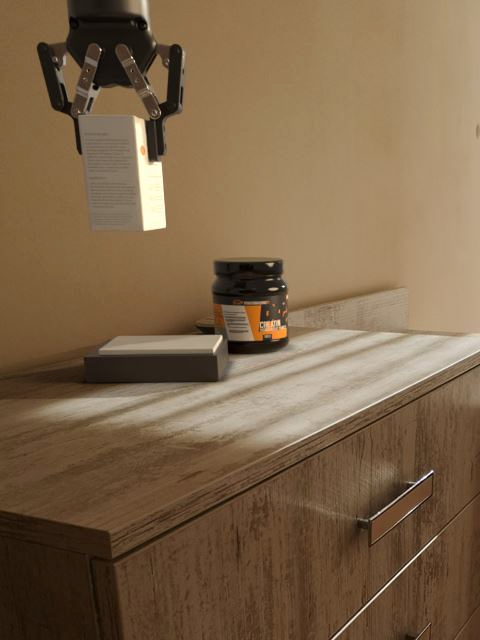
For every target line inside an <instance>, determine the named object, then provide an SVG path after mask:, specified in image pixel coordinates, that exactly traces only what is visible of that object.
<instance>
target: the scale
mask: <svg viewBox="0 0 480 640" xmlns="http://www.w3.org/2000/svg"><path fill="white" fill-rule="evenodd" d="M83 363H84V364H83V365H84V372H85V373H84V374H85V381H86V383H87V384H99V383H100V384H101V383H103V384H104V383H105V384H107V383H109V384H110V383H113V384H115V383H173V382H174V383H175V382H176V383H177V382H179V383H180V382H181V383H182V382H183V383H184V382H185V383H186V382H188V383H189V382H219V381H220V379H221V378H222V375H223V373H224V371H225V369H226V367H227V365H228V363H229V352H228V346H227V338H222V335H215V334H186V335H185V334H184V335H183V334H178V335H177V334H176V335H171V334H169V335H117V336H115V337H114V338H113V339H107V340H106V341H104V342H103V343H101V344H99V346H97V347H96V348H94V349H93V350H91V351H90V352H88V353H87V354H86V355H85V356H83Z"/></svg>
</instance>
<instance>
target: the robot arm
mask: <svg viewBox="0 0 480 640" xmlns="http://www.w3.org/2000/svg"><path fill="white" fill-rule="evenodd" d="M65 1H66V10H67V19H68V33H67V36H66V38H65V41H61V42H55V43H54V42H53V43H47V42H45V41H40V42H38V43H37V45H36V51H37V56H38V60H39V64H40V67H41V71H42V75H43V80H44V83H45V87H46V90H47V94H48V99H49V101H50V106H51V108H52V110H53V111H55V112H59V113H61V114H65V115H67V116H69V117H70V118H71V119H72V122H73V127H74V136H75V144H76V151H77V153H78V155H80V156H82V149H81V140H80V132H79V123H78V116H79V115H92V111H93V108H94V105H95V102H96V100H97V99H98V97H99V94H100V92H101V88H102V89H113V88H116V87H121V88H124V89H133V90H134V91H135V93H136V95H137V96H138V97H139V99H140V101H141V103H142V105H143V107H144V109H145V111H146V113H147V114H148V116H149V120H148V119H146V120H147V125H148V137H149V149H150V159H151V162H161V163H162V157H166V155H167V152H168V144H167V133H166V122H167V120H168V119H169V118H171V117H173V116H176V115H180V114H181V113H182V112H183V110H184V98H185V97H184V96H185V95H184V94H185V82H186V69H187V52H186V50H185V49H184V48H183V47H182V46H181V45H180V44H178V43H173V44H171V45H169V44H163V43H158V42H157V40H156V38H155V37H154V34H153V31H152V20H151V7H150V0H65ZM69 55H70V56H71V58H72V59H73V61H74V62H75V63H76V65H77V66H78V67H79V68H80V70H81V71H80V74H79V78H78V80H77V84H76V87H75V93H74V94H75V95H74V98H73V101H70V97H69V93H68V89H67V85H66V82H65V77H64V74H63V73H64V72H63V69H65V68H66V66H67V57H68V56H69ZM158 56H159V57H160V60H161V64H162V66H163V68H164V69H166V70H167V86H166V100H165V101H163V102H161V103H160V101H159V98H158V97H157V94H156V91H155V89H154V87H153V85H152V83H151V81H150V80H149V77H148V75H147V74H148V72H149V70H150V69H151V67H152V65H153V64H154V62H155V60H156V59H157V57H158Z"/></svg>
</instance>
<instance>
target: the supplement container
mask: <svg viewBox="0 0 480 640" xmlns="http://www.w3.org/2000/svg"><path fill="white" fill-rule="evenodd" d="M212 268H213V269H212V270H213V275H214V276H215V280H214V281H213V282H212V283H211V285H210V293H211V295H212V308H213V324H214V335H222V338H227V346H228V353H233V354H234V353H236V354H261V353H271V352H278V351H281V350H283V349H285V348H286V347H288V345H289V344H290V341H291V335H290V320H289V293H288V292H289V284H288V283H287V282H286V280H285V279H284V277H283V275H284V274H285V261H284V259H283V258H280V257H266V256H237V257H235V256H234V257H221V258H215V259H214V260H213V261H212Z"/></svg>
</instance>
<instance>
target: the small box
mask: <svg viewBox="0 0 480 640" xmlns="http://www.w3.org/2000/svg"><path fill="white" fill-rule="evenodd" d="M147 120H148V119H144V118H141V117H138V116H136V115H134V114H133V115H132V114H90V115H79V116H78V123H79V132H80V140H81V149H82V155H81V157H82V165H83V175H84V183H85V193H86V194H85V195H86V201H87V210H88V219H89V227H90V231H91V232H147V231H155V230H161V229H162V230H163V229H166V227H167V222H166V220H167V219H166V204H165V194H164V179H163V178H164V177H163V165H162V161H161V162H151V159H150V149H149V137H148V125H147Z"/></svg>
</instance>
